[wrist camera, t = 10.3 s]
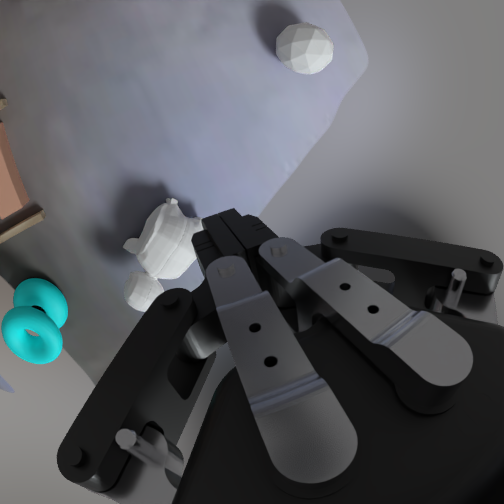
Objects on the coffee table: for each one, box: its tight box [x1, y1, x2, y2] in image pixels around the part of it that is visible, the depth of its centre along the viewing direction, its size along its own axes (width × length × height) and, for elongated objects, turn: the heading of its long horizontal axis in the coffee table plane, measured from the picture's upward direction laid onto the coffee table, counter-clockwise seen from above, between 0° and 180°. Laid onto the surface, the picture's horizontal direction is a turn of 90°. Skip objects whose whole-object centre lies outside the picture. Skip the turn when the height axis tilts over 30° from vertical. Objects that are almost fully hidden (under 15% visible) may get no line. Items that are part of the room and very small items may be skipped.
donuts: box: [1, 278, 68, 364], centre depth 32 cm, size 10×10×10 cm
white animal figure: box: [123, 198, 203, 312], centre depth 38 cm, size 9×8×15 cm
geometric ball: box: [276, 22, 334, 74], centre depth 31 cm, size 8×8×8 cm
